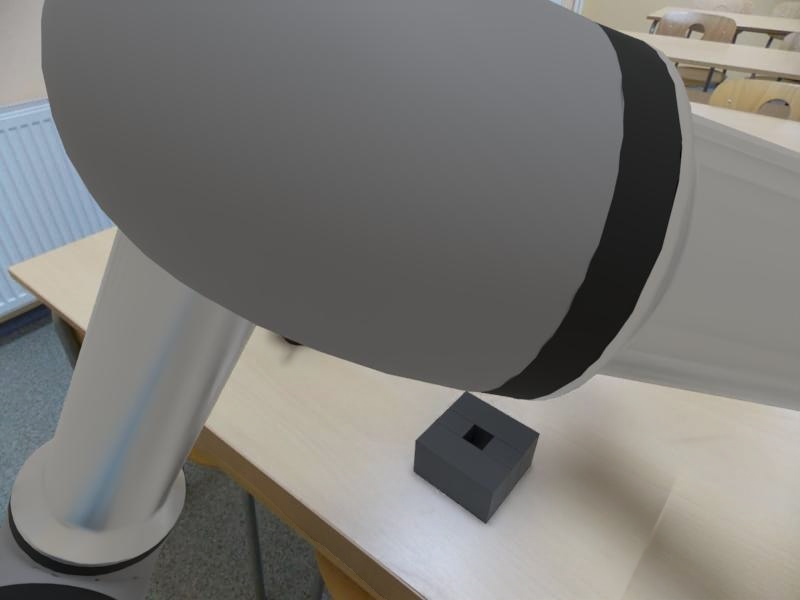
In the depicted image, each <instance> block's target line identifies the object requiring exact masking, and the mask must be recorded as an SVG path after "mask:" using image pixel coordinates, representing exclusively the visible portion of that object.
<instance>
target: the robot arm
mask: <svg viewBox="0 0 800 600" xmlns="http://www.w3.org/2000/svg"><path fill="white" fill-rule="evenodd" d="M40 49H41V50H40V55H41V62H40V63H41V72H42V76H43V80H44V86H45V90H46V94H47V99H48V104H49V108H50V114H51V118H52V120H53V122H54V125H55V128H56V130H57V133H58V136H59V138H60V141H61V143H62V146H63V149H64V152H65V155H66V156H67V158H68V159H69V161H70V163H71V165H72V166H73V168H74V169H75V171H76V173H77V174H78V176H79V177H80V179H81V181H82V183H83V185H84V186H85V188H86V189H87V191H88V193H89V194H90V195H91V197H92V199H93V200H94V201H95V203H96V204H97V206H98V207H99V209H100V210H101V211H102V212H103V213H104V214H105V215H106V216H107V217H108V219H110V220H111V221H112V223H113V224H114V225H115V226H116V227H117V229H116V233H115V235H114V240H113V242H112V246H111V249H110V252H109V255H108V259H107V262H106V266H105V268H104V272H103V275H102V279H101V282H100V284H99V288H98V291H97V295H96V298H95V301H94V304H93V307H92V311H91V314H90V318H89V321H88V324H87V328H86V331H85V334H84V338H83V340H82V344H81V347H80V350H79V354H78V357H77V360H76V364H75V367H74V369H73V373H72V377H71V380H70V383H69V387H68V389H67V393H66V396H65V399H64V403H63V406H62V410H61V412H60V416H59V419H58V423H57V426H56V429H55V432H54V435H53V437H52V438H50V439H49V440H47V441H46V442H45V443H43V444H42V445H40V446H39V447H38V448H37V449H36V450H34V451H33V452H32V453H31V454H30V455H29V456H28V457H27V458H26V460H25V462H24V463H23V465H22V466H21V467H20V469H19V471H18V473H17V475H16V477H15V480H14V483H13V486H12V489H11V493H10V496H9V501H8V503H7V507H6V511H5V514H4V518H3V522H2V525H1V527H0V600H146V597H147V593H148V590H149V587H150V583H151V579H152V577H153V572H154V569H155V566H156V564H157V560H158V558H159V555H160V554H161V553H160V552H161V550H162V548H163V547H164V545H165V543H166V541H167V539H168V538H169V536H170V534H171V532H172V530H173V529H174V526H175V525H176V523H177V521H178V520H179V518H180V515H181V514H182V512H183V511H182V510H183V508H184V506H185V505H184V504H185V500H186V494H187V493H186V492H187V486H186V485H187V484H186V479H185V478H186V476H185V473H184V470H183V467H184V465H185V463H186V461H187V459H188V458H189V456H190V453H191V452H192V450H193V448H194V446H195V444H196V442H197V440H198V438H199V436H200V435H201V432H202V431H203V429H204V427H205V425H206V423H207V421H208V419H209V417H210V415H211V413H212V411H213V409H214V408H215V406H216V405H217V404H216V403H217V402H218V400H219V398H220V396H221V394H222V393H223V390H224V389H225V386H226V385H227V383H228V381H229V379H230V378H231V375H232V373H233V371H234V369H235V368H236V365H237V364H238V362H239V360H240V358H241V356H242V355H243V352H244V350H245V348H246V346H247V345H248V343H249V341H250V339H251V337H252V335H253V333H254V331H255V329H256V327H260V328H262V329H265V330H266V331H269V332H272V333H274V334H276V335H278V336H281V337H283V338H284V337H286V338H288V339H290V340H293V341H295V342H298V343H300V344H302V345H301V346H305V347H307V348H309V349H312V350H314V351H317V352H319V353H322V354H325V355H328V356H331V357H334V358H338V359H340V360H343V361H347V362H349V363H353V364H356V365H359V366H362V367H365V368H368V369H371V370H374V371H377V372H380V373H383V374H385V375H391V376H395V377H400V378H403V379H409V380H412V381H417V382H422V383H426V384H430V385H436V386H441V387H445V388H449V389H454V390H457V391H458V390H459V391H464V392H465V391H467V392H469V393H481V394H487V395H492V396H493V395H494V396H499V397H505V398H510V399H514V400H523V401H528V402H544V401H549V400H553V399H556V398H561V397H563V396H565V395H567V394H569V393H571V392H573V391H575V390H577V389H579V388H580V387H582V386H583V385H584V384H586V383H587V382H588V381H590V380H591V379H592V378H594V376H596V375H601V376H607V377H611V378H618V379H623V380H627V381H632V382H633V381H634V382H638V383H643V384H644V383H645V384H649V385H655V386H659V387H667V388H671V389H676V390H682V391H688V392H693V393H698V394H703V395H710V396H714V397H719V398H726V399H731V400H736V401H742V402H747V403H753V404H758V405H763V406H767V407H768V406H769V407H773V408H774V407H775V408H780V409H785V410H790V411H796V412H800V151H796V150H793V149H791V148H788V147H785V146H783V145H779V144H777V143H774V142H771V141H769V140H766V139H763V138H761V137H758V136H756V135H753V134H750V133H747V132H745V131H742V130H739V129H736V128H734V127H732V126H728V125H726V124H723V123H721V122H718V121H715V120H713V119H710V118H708V117H704V116H701V115H700V114H699V115H698V114H696V113H693V112H692V104H691V101H690V98H689V95H688V92H687V89H686V85H685V82H684V80H683V78H682V76H681V74H680V72H679V71H678V68H677V67H676V65H675V64H674V63H673V62H672V61H671V60H670V58H669V57H668V56H667V54H665V53H664V51H662V50H660V49H659V48H657V47H655V46H654V45H652V44H650V43H649V42H647V41H644V40H642V39H640V38H637V37H635V36H631V35H629V34H626V33H624V32H622V31H619V30H616V29H613V27H609V26H607V25H603V24H601V23H599V22H596V21H594V20H592V19H591V18H589V17H586V16H584V15H582V14H580V13H578V12H576V11H573V10H571V9H569V8H568V7H565V6H563V5H561V4H559V3H557V2H554V1H552V0H44V1H43V6H42V10H41V17H40Z"/></svg>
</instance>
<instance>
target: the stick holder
mask: <svg viewBox="0 0 800 600" xmlns="http://www.w3.org/2000/svg"><path fill="white" fill-rule="evenodd" d="M539 439H540V432H538V431H536V430H535V429H533V428H531V427H529V426H528V425H526V424H524V423H523V422H521V421H519V420H517V419H515V418H513V417H512V416H510V415H509V414H508V413H505V412H504V411H502V410H500V409H499V408H497V407H495V406H493V405H492V404H490V403H489V402H487V401H485V400H483V399H481V398H480V397H478V396H476V395H475V394H473V393H472V392H467V391H464V392H463V393H462V394H461V395H460V396H459V397H458V398H457V399H456V400H455V401H454V402H453V403H452V404H451V405H449V407H447V409H446V410H444V411H443V413H442V414H441V415H439V417H438V418H437V419H435V420H434V421H433V422H432V424H430V425H429V426H428V427H427V428H426V429H425V430H424V431H423V432H422V433H421V434H420V435H419V436H418V437H417V438H416V439H415V440H414V441H415V442H414V455H413V457H414V458H413V472H414V473H415V474H417V475H418V476H419V477H421V478H422V479H423V480H425V481H427V482H428V484H429V483H430V484H431V485H432V486H433V487H435V489H437V490H439V491H440V492H441V493H443V494H444V495H446V496H447V497H448V498H450V499H451V500H453V501H454V502H455V503H457V504H458V505H460V506H461V507H462V508H464V509H465V510H467V511H468V512H470V513H471V514H472V515H473V516H475V517H476V518H478V519H479V520H481V521H482V522H483V523H485V524H487V523H488V522H489V521H490V519H491V518H492V517H493V515H494V514H495V513H496V512H497V510H498V509H499V508H500V506H501V505H502V503H503V502H504V501H505V499H506V498H507V497H508V495H509V494H510V493H511V492H512V491H513V489H514V487H515V486H516V485H517V484H518V482H519V481H520V480H521V479H522V477H523V476H524V474H525V473H526V472H527V470H528V469H529V468H530V466H531V465H532V463H533V459H534V456H535V452H536V449H537V445H538V442H539Z"/></svg>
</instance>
